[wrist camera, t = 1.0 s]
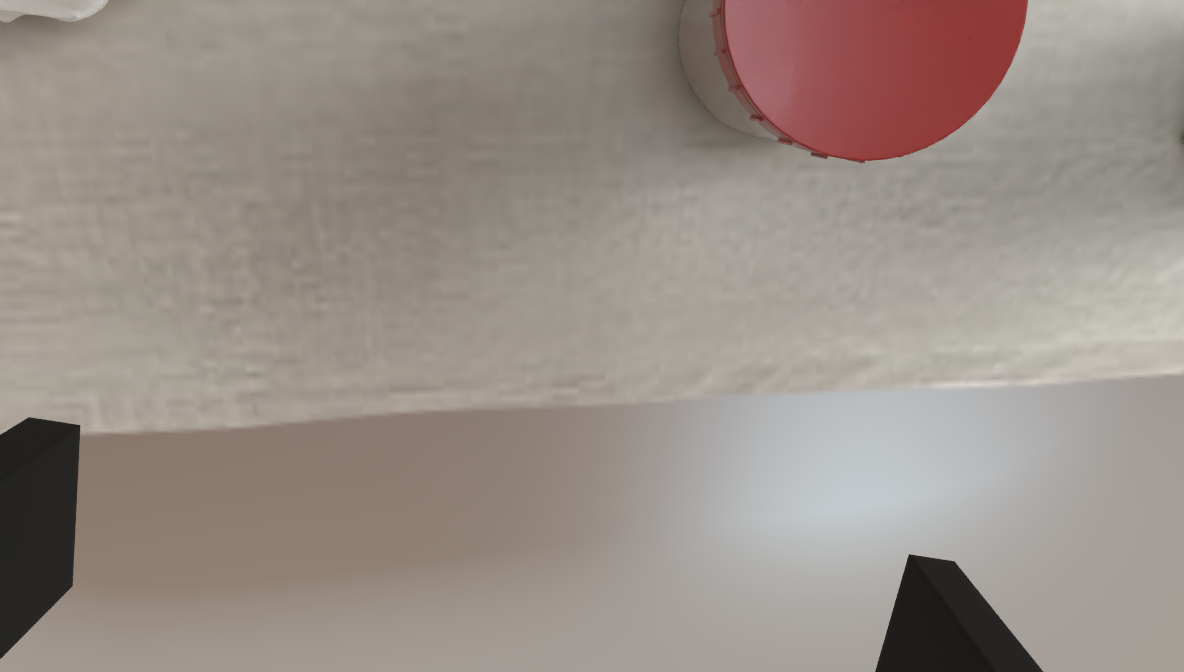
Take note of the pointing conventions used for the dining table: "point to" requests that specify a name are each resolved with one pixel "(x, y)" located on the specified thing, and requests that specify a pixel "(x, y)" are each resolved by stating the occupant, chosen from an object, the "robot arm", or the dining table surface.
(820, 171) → the dining table surface
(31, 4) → the shaker set
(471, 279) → the dining table surface
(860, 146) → the lid
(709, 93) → the jar
